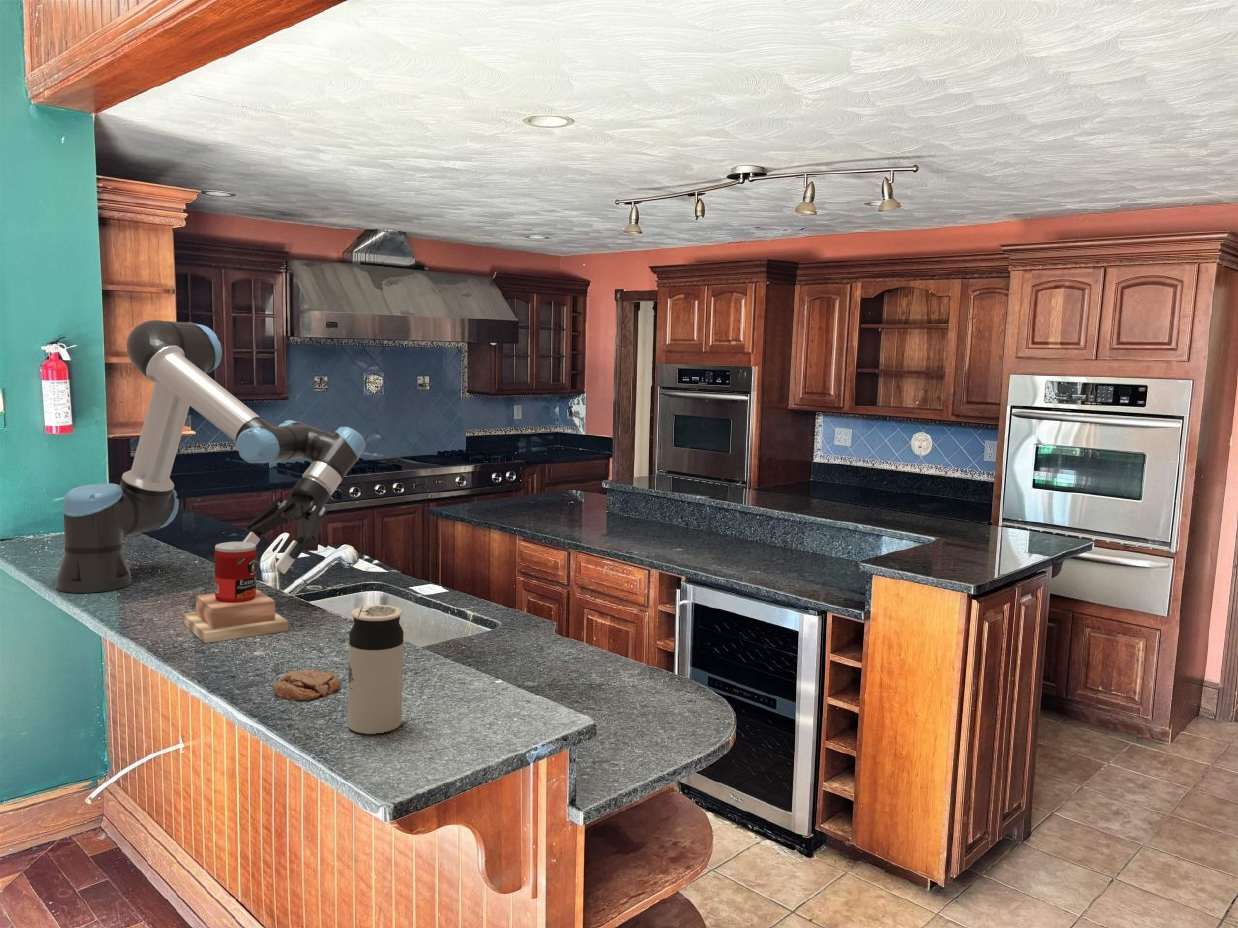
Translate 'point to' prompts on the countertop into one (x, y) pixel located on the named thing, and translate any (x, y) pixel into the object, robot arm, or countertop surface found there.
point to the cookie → (306, 685)
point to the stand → (233, 618)
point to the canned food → (235, 571)
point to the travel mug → (375, 669)
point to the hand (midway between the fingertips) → (257, 564)
